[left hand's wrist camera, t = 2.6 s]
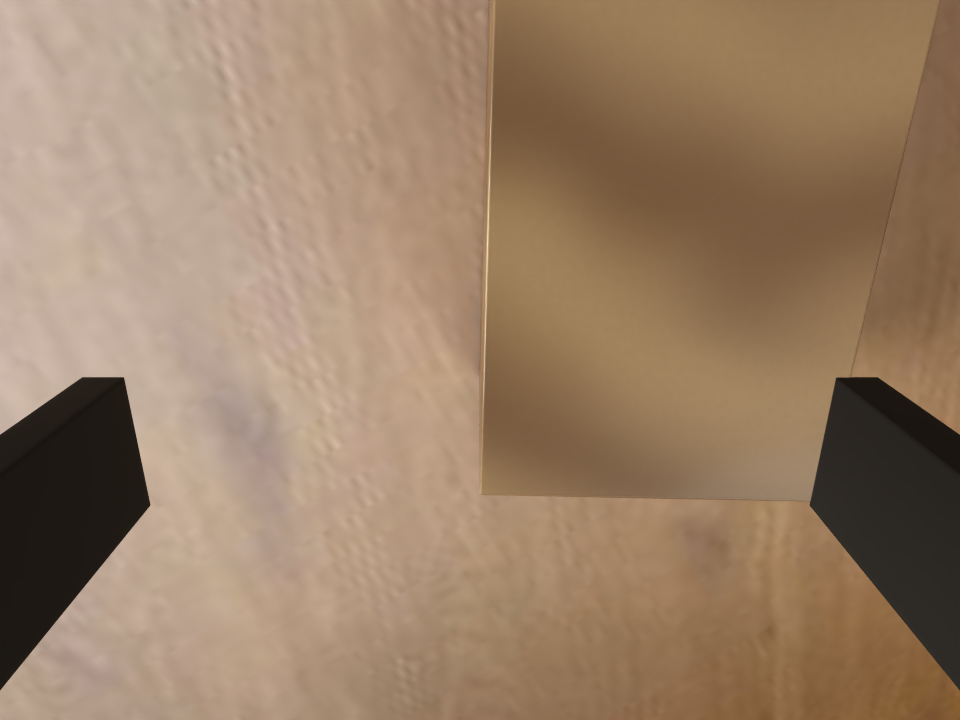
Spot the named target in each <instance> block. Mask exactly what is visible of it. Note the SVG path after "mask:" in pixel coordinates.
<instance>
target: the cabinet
mask: <svg viewBox="0 0 960 720" xmlns="http://www.w3.org/2000/svg"><path fill="white" fill-rule="evenodd" d="M940 1H941V0H489V19H488V59H487V98H486V138H485V177H484V217H483V257H482V296H481V336H480V375H479V438H480V494H481V495H510V496H561V497H612V498H663V499H714V500H765V501H811V496H812V491H813V486H814V482H815V477H816V472H817V467H818V462H819V458H820V453H821V448H822V443H823V438H824V433H825V429H826V424H827V419H828V414H829V409H830V404H831V400H832V395H833V390H834V385H835V380H836V377H851V373H852V369H853V365H854V361H855V356H856V352H857V348H858V344H859V340H860V336H861V331H862V327H863V323H864V319H865V315H866V310H867V306H868V302H869V298H870V294H871V290H872V285H873V281H874V277H875V273H876V269H877V264H878V260H879V256H880V252H881V248H882V244H883V239H884V235H885V231H886V227H887V223H888V218H889V214H890V210H891V206H892V202H893V197H894V193H895V189H896V185H897V181H898V177H899V172H900V168H901V164H902V160H903V156H904V151H905V147H906V143H907V139H908V135H909V131H910V126H911V122H912V118H913V114H914V110H915V105H916V101H917V97H918V93H919V89H920V85H921V80H922V76H923V72H924V68H925V64H926V59H927V55H928V51H929V47H930V43H931V39H932V34H933V30H934V26H935V22H936V18H937V13H938V9H939V5H940Z"/></svg>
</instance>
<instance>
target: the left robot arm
mask: <svg viewBox="0 0 960 720" xmlns="http://www.w3.org/2000/svg"><path fill="white" fill-rule="evenodd" d="M149 506H150V501H149V496H148V491H147V486H146V482H145V477H144V472H143V467H142V462H141V458H140V453H139V448H138V443H137V438H136V433H135V429H134V424H133V419H132V414H131V409H130V404H129V400H128V395H127V390H126V385H125V380H124V377H82V378H81V379H79V380H78V381H77V382H75V383H74V384H72V385H71V386H69V387H68V388H67V389H65V390H64V391H62V392H61V393H59V394H58V395H56V396H55V397H54V398H52V399H51V400H49V401H48V402H46V403H45V404H44V405H42V406H41V407H39V408H38V409H36V410H35V411H34V412H32V413H31V414H29V415H28V416H26V417H25V418H24V419H22V420H21V421H19V422H18V423H16V424H15V425H14V426H12V427H11V428H9V429H8V430H6V431H5V432H4V433H2V434H1V435H0V690H1V689H2V687H3V686H4V685H5V684H6V682H7V681H8V680H9V679H10V678H11V676H12V675H13V674H14V673H15V671H16V670H17V669H18V668H19V666H20V665H21V664H22V663H23V662H24V660H25V659H26V658H27V657H28V655H29V654H30V653H31V652H32V650H33V649H34V648H35V647H36V646H37V644H38V643H39V642H40V641H41V639H42V638H43V637H44V636H45V634H46V633H47V632H48V631H49V629H50V628H51V627H52V626H53V625H54V623H55V622H56V621H57V620H58V618H59V617H60V616H61V615H62V613H63V612H64V611H65V610H66V609H67V607H68V606H69V605H70V604H71V602H72V601H73V600H74V599H75V597H76V596H77V595H78V594H79V593H80V591H81V590H82V589H83V588H84V586H85V585H86V584H87V583H88V581H89V580H90V579H91V578H92V577H93V575H94V574H95V573H96V572H97V570H98V569H99V568H100V567H101V565H102V564H103V563H104V562H105V561H106V559H107V558H108V557H109V556H110V554H111V553H112V552H113V551H114V549H115V548H116V547H117V546H118V545H119V543H120V542H121V541H122V540H123V538H124V537H125V536H126V535H127V533H128V532H129V531H130V530H131V529H132V527H133V526H134V525H135V524H136V522H137V521H138V520H139V519H140V517H141V516H142V515H143V514H144V512H145V511H146V510H147V509H148V508H149ZM810 506H811V508H812V509H813V510H814V511H815V512H816V514H817V515H818V516H819V517H820V519H821V520H822V521H823V522H824V524H825V525H826V526H827V527H828V529H829V530H830V531H831V532H832V533H833V535H834V536H835V537H836V538H837V540H838V541H839V542H840V543H841V545H842V546H843V547H844V548H845V549H846V551H847V552H848V553H849V554H850V556H851V557H852V558H853V559H854V561H855V562H856V563H857V564H858V565H859V567H860V568H861V569H862V570H863V572H864V573H865V574H866V575H867V577H868V578H869V579H870V580H871V581H872V583H873V584H874V585H875V586H876V588H877V589H878V590H879V591H880V593H881V594H882V595H883V596H884V597H885V599H886V600H887V601H888V602H889V604H890V605H891V606H892V607H893V609H894V610H895V611H896V612H897V613H898V615H899V616H900V617H901V618H902V620H903V621H904V622H905V623H906V625H907V626H908V627H909V628H910V629H911V631H912V632H913V633H914V634H915V636H916V637H917V638H918V639H919V641H920V642H921V643H922V644H923V646H924V647H925V648H926V649H927V650H928V652H929V653H930V654H931V655H932V657H933V658H934V659H935V660H936V662H937V663H938V664H939V665H940V666H941V668H942V669H943V670H944V671H945V673H946V674H947V675H948V676H949V678H950V679H951V680H952V681H953V682H954V684H955V685H956V686H957V687H958V689H959V690H960V435H959V434H958V433H956V432H955V431H954V430H952V429H951V428H949V427H948V426H946V425H945V424H944V423H942V422H941V421H939V420H938V419H936V418H935V417H934V416H932V415H931V414H929V413H928V412H926V411H925V410H924V409H922V408H921V407H919V406H918V405H916V404H915V403H914V402H912V401H911V400H909V399H908V398H906V397H905V396H904V395H902V394H901V393H899V392H898V391H896V390H895V389H893V388H892V387H891V386H889V385H888V384H886V383H885V382H883V381H882V380H881V379H879V378H878V377H836V380H835V385H834V390H833V395H832V400H831V404H830V409H829V414H828V419H827V424H826V429H825V433H824V438H823V443H822V448H821V453H820V458H819V462H818V467H817V472H816V477H815V482H814V486H813V491H812V496H811V501H810Z"/></svg>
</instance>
